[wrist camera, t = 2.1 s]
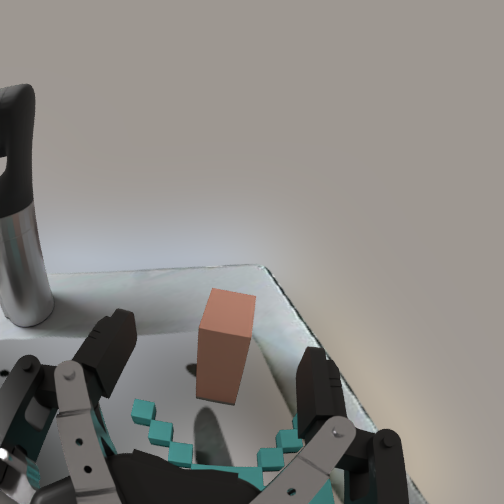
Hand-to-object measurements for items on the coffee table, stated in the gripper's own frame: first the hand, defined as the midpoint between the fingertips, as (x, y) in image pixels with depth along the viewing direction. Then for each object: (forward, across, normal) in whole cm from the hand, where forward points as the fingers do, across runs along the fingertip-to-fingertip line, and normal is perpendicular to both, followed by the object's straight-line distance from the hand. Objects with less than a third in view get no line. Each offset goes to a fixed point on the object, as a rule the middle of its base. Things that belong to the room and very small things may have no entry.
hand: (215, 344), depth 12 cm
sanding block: (+11, 0, +19) cm, 22 cm away
